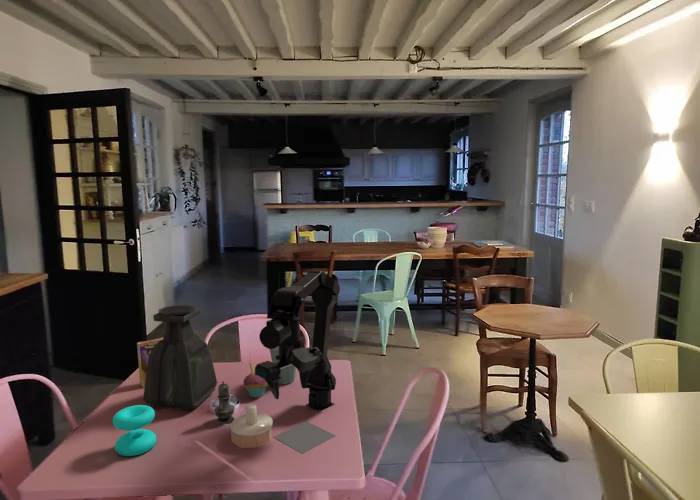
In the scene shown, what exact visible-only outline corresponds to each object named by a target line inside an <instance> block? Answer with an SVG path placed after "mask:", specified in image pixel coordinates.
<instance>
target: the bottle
mask: <svg viewBox="0 0 700 500" xmlns="http://www.w3.org/2000/svg"><path fill="white" fill-rule="evenodd" d="M200 314H201V309H200V307H196V306H195V305H189V304H174V305H169V306H164V307H162V308H159V309H158V312H157V313H155V314H153V322H162V323H166V324H165V329H164V332H163V337H162V338H163V340H161V341H159V342H158V343H157V344H156V345H155V346H154V347H153V349H152V350H151V352H150V355H149V357H148V365H147V373H146V380H145V388H143V389H144V390H143V398H142V401H143V402H144V403H146V404H148V405H149V406H150V407H151V406H152V408H157V409H158V408H159V409H170V410H171V409H173V410H184V411H185V410H186V411H191V410H193V409H195V408H197V407H198V406H199V405H200V404H202V403H203V402H204V401H205V400H206V399H207V398H208V397H209V396H211V394H212V393H214V391H215V390H216V387H217V384H218V379H217V376H216V372H215V367H214V363H213V360H212V359H213V358H212V356H211V351H210V347H209V345H208V343H206V341H205V340H203V338H202V337H201V336H200V334H195V332H194V330H193V328H192V325H191V323H190V320H191V319H193V318H195V317H196V316H198V315H200Z"/></svg>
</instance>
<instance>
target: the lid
mask: <svg viewBox="0 0 700 500" xmlns="http://www.w3.org/2000/svg"><path fill="white" fill-rule="evenodd" d="M273 424H274V422H273V418H272V416H270V415H268V414H265V413H260V412H258V411H257V405H256V404H247V405H246V406H245V414H242V415H240V416H238V417H236V418H234V420H233V421H232V422H231V423H230V431H232V432H233V433H235V434H237V435H240V436H255V435H259V434H262V433H264V432H266V431H268V430H269V429H270V428H271V429H272V427H273Z"/></svg>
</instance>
